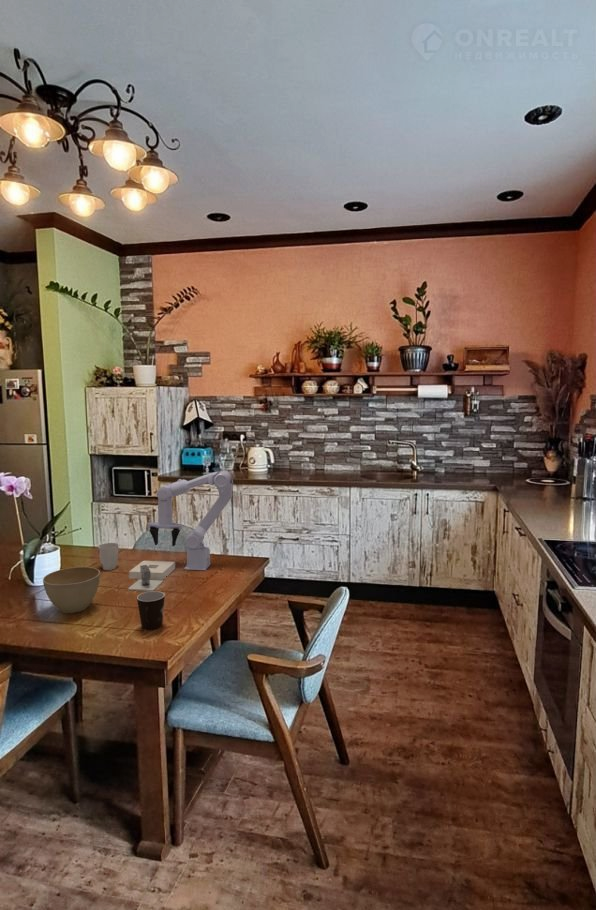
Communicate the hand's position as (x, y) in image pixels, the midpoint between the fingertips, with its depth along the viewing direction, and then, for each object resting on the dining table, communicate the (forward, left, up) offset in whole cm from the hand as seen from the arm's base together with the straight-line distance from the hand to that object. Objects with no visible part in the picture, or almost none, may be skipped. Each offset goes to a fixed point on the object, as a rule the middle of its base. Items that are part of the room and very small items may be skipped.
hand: (165, 545), depth 229 cm
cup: (+23, +4, -10) cm, 26 cm away
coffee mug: (-17, +57, -10) cm, 61 cm away
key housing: (+2, +8, -10) cm, 13 cm away
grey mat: (-1, +22, -10) cm, 25 cm away
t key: (-1, +22, -9) cm, 24 cm away
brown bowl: (+15, +46, -10) cm, 50 cm away
